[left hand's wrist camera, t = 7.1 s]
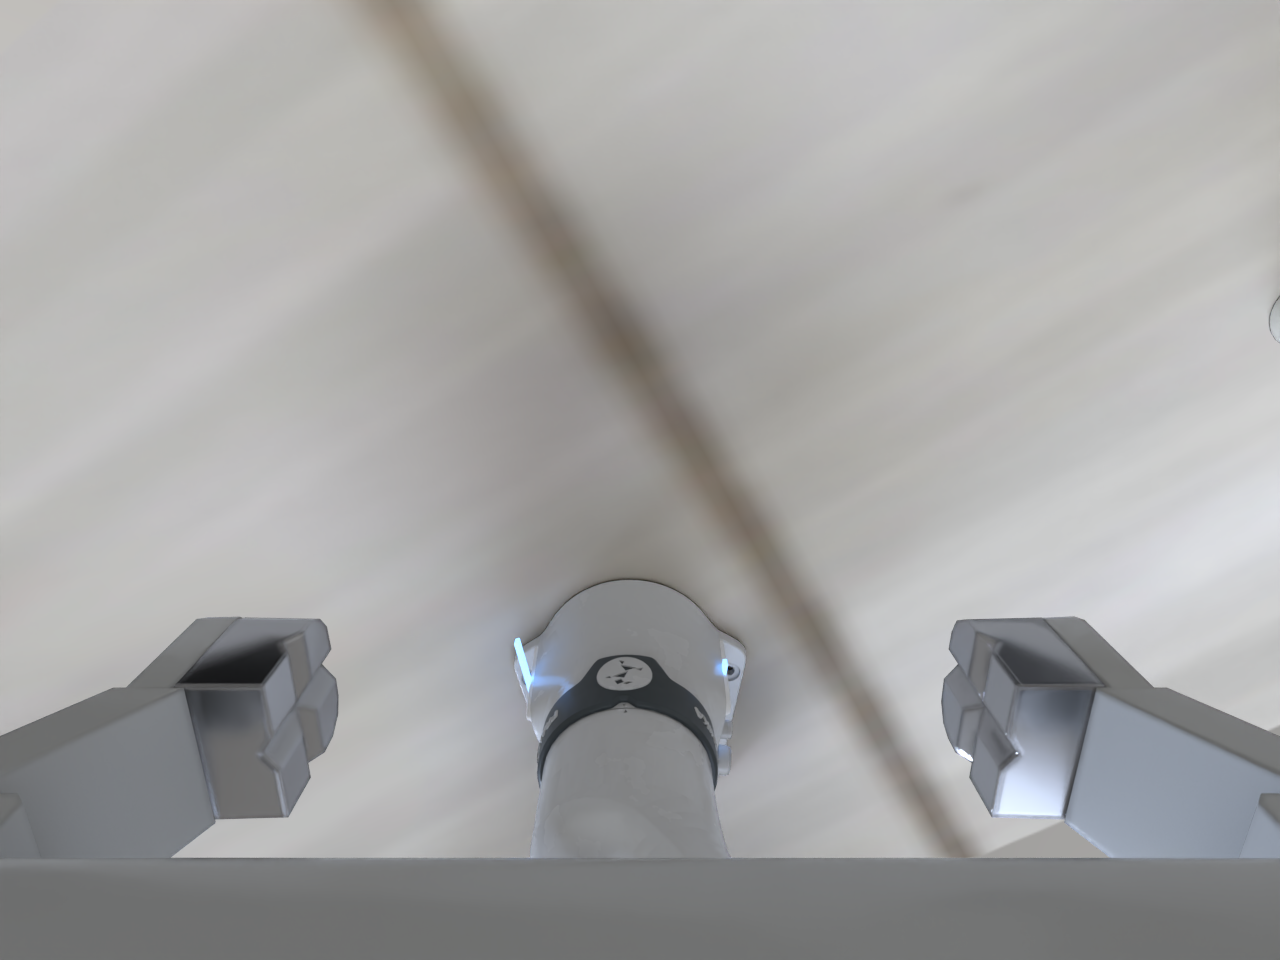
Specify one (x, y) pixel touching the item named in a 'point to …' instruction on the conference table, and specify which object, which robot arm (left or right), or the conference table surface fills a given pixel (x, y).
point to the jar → (1275, 320)
